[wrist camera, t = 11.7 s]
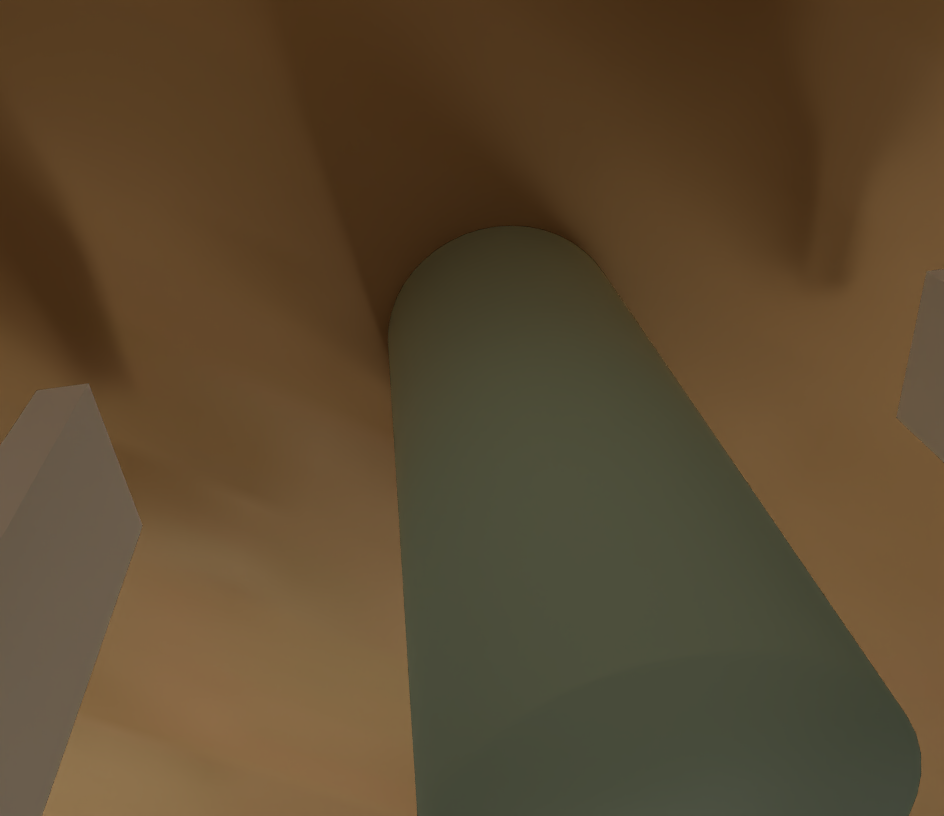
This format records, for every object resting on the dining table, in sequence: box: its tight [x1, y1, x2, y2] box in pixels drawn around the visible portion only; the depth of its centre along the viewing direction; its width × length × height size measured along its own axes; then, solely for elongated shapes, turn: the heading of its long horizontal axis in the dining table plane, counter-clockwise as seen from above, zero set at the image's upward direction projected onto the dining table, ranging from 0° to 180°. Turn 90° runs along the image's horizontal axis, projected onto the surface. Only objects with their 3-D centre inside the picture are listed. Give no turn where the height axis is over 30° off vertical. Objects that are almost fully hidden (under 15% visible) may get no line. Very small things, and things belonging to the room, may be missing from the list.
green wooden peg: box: [388, 226, 921, 816], centre depth 12 cm, size 4×4×10 cm
